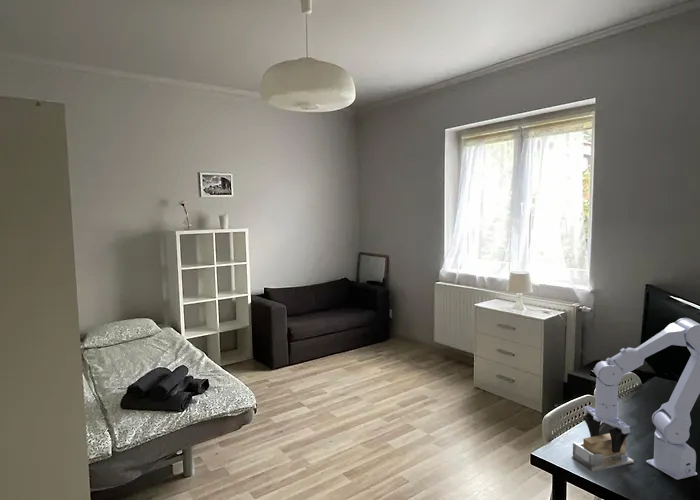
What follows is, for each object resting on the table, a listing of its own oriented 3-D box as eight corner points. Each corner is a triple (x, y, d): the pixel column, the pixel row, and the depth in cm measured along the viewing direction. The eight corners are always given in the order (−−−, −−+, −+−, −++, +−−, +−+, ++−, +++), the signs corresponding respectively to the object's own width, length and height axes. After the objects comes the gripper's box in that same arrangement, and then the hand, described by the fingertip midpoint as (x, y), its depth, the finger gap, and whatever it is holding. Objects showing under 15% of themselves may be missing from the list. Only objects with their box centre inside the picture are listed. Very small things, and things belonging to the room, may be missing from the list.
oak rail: (616, 447, 135) (617, 431, 135) (625, 452, 132) (625, 436, 132) (583, 454, 131) (583, 438, 131) (591, 459, 128) (591, 443, 128)
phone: (628, 428, 149) (617, 445, 138) (628, 431, 149) (617, 448, 139) (602, 421, 155) (590, 436, 144) (602, 424, 155) (589, 440, 144)
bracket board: (610, 449, 138) (611, 434, 137) (633, 462, 130) (633, 446, 130) (571, 457, 133) (571, 441, 133) (592, 471, 126) (593, 455, 125)
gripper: (576, 394, 136) (575, 436, 137) (616, 414, 123) (615, 460, 124) (594, 391, 138) (593, 432, 139) (636, 410, 125) (634, 456, 125)
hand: (605, 445), depth 132 cm, fingers open, 7 cm apart
